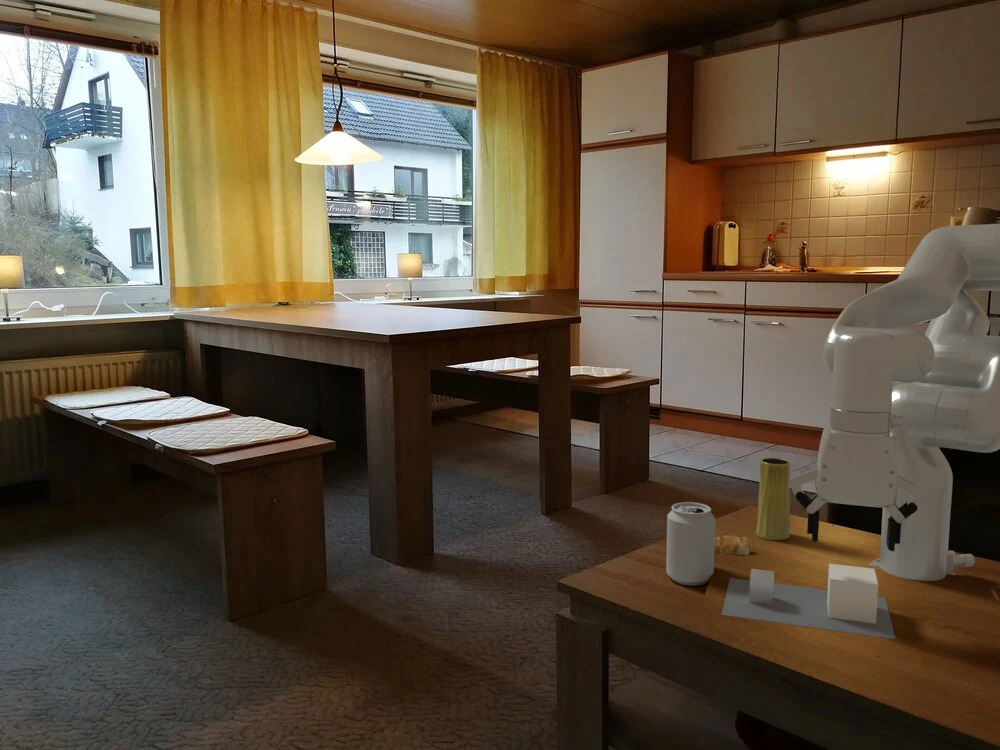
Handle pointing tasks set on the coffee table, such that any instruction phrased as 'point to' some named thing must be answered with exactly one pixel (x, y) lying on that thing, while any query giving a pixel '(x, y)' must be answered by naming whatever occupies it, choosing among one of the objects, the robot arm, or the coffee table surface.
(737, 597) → the board
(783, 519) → the vase
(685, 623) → the coffee table surface
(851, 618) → the cream foam cube
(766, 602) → the small white block
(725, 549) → the pastry
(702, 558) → the can
